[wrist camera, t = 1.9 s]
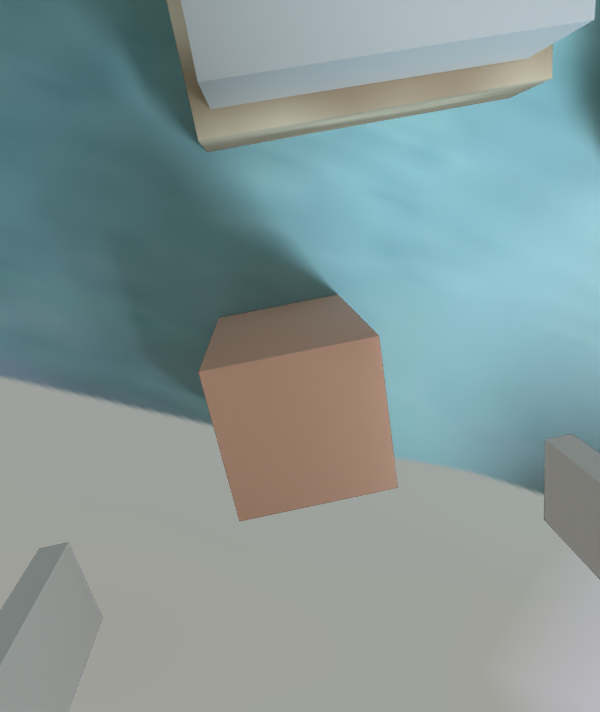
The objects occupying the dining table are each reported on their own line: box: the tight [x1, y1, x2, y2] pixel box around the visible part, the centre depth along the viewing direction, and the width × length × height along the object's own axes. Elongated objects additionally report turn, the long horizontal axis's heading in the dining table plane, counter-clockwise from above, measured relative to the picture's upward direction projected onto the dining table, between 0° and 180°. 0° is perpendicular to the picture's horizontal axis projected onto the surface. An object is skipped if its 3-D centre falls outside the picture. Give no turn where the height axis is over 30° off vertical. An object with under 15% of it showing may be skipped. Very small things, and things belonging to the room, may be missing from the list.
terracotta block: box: [199, 295, 398, 521], centre depth 22 cm, size 7×7×9 cm
